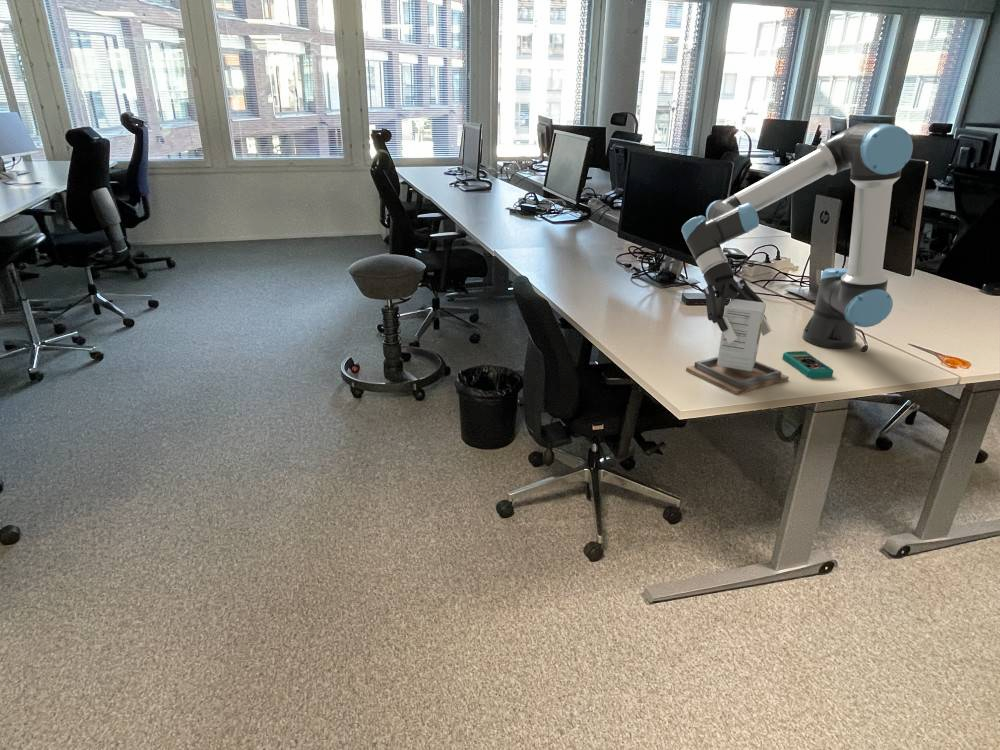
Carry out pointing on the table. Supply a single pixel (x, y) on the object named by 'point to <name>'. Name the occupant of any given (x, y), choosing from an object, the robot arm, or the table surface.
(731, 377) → the carrier plate
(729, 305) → the supplement box
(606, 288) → the table surface
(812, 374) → the digital multimeter
